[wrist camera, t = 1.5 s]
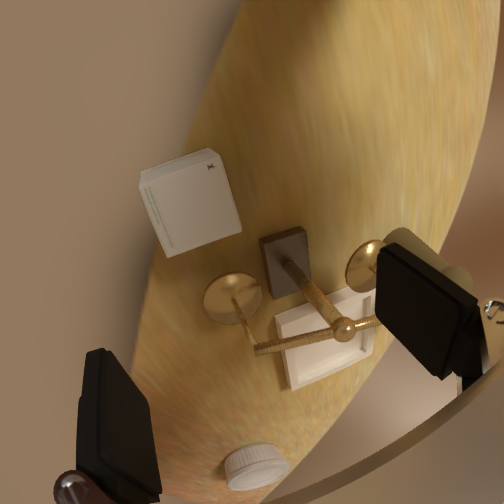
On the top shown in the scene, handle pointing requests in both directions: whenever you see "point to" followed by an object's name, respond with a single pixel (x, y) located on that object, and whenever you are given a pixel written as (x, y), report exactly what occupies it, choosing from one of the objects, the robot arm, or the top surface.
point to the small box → (189, 201)
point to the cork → (430, 257)
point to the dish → (328, 351)
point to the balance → (292, 290)
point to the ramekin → (255, 466)
